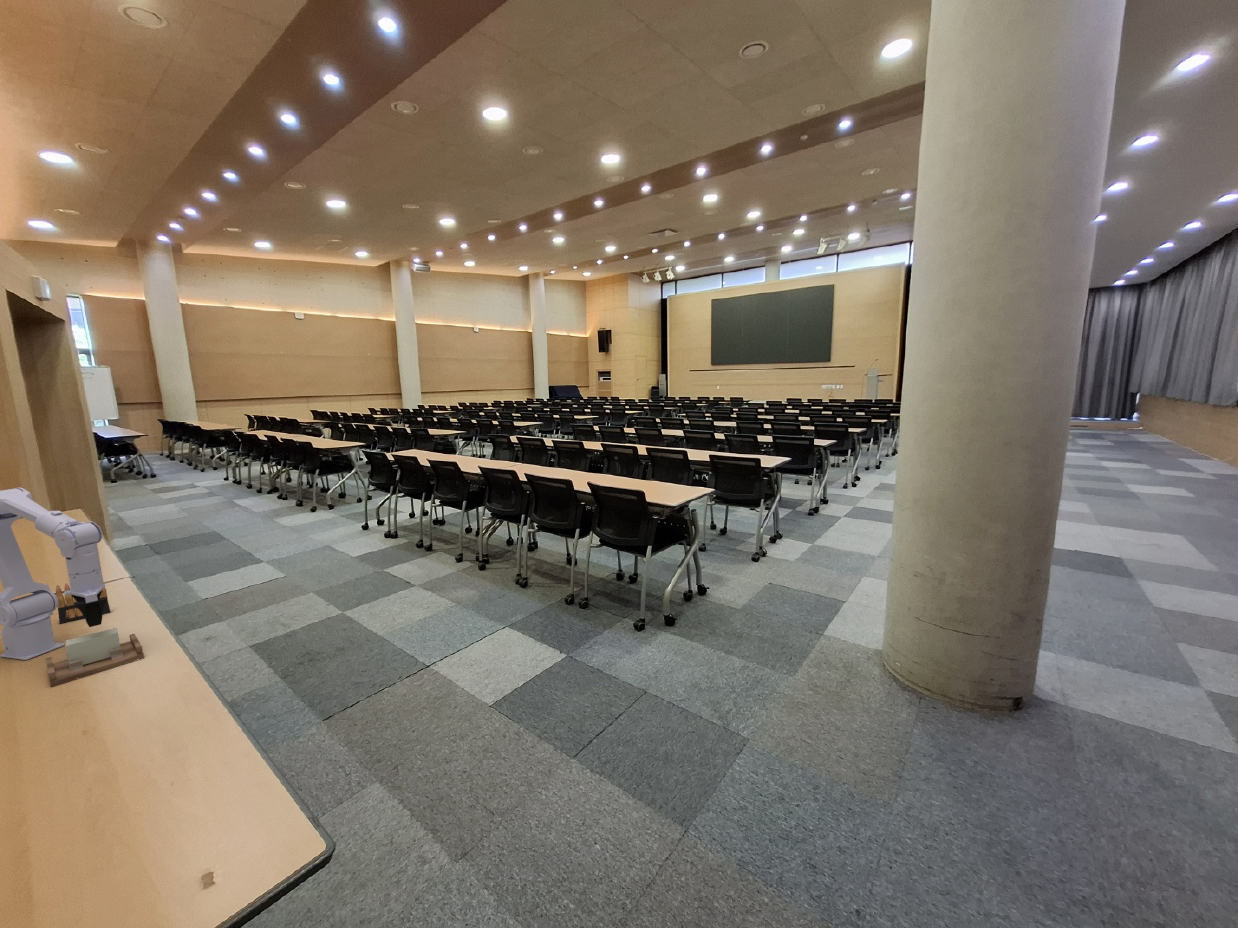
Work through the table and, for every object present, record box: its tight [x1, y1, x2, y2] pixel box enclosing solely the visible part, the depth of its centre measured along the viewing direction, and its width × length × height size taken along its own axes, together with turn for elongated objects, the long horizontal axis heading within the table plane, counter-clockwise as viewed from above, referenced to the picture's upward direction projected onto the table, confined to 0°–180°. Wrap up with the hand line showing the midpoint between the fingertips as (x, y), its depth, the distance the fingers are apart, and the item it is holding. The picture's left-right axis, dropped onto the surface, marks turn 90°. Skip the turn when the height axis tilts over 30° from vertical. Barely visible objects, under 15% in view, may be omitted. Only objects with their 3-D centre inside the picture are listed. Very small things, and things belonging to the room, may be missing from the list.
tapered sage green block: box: [65, 627, 121, 667], centre depth 125 cm, size 4×9×6 cm, turn 137°
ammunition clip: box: [55, 581, 112, 625], centre depth 151 cm, size 11×2×12 cm, turn 136°
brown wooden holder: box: [45, 633, 145, 688], centre depth 125 cm, size 12×16×4 cm
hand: (93, 621), depth 127 cm, fingers open, 7 cm apart
